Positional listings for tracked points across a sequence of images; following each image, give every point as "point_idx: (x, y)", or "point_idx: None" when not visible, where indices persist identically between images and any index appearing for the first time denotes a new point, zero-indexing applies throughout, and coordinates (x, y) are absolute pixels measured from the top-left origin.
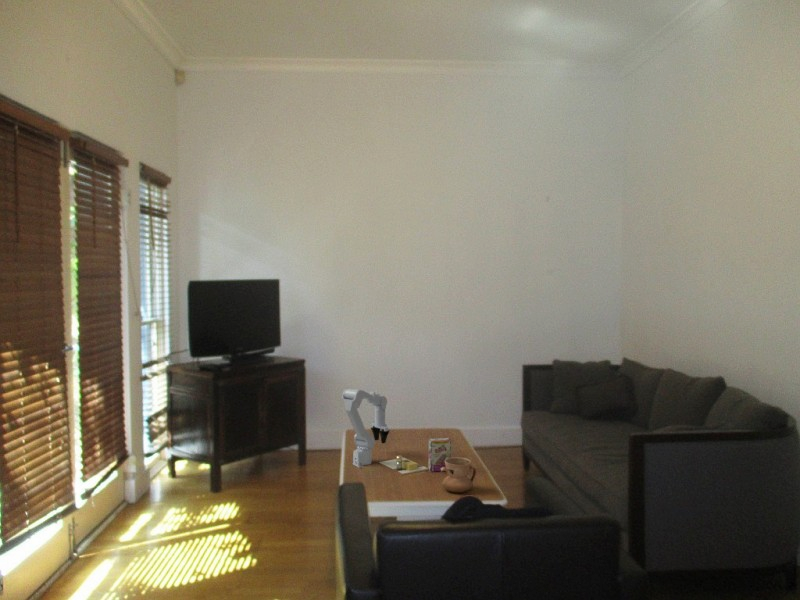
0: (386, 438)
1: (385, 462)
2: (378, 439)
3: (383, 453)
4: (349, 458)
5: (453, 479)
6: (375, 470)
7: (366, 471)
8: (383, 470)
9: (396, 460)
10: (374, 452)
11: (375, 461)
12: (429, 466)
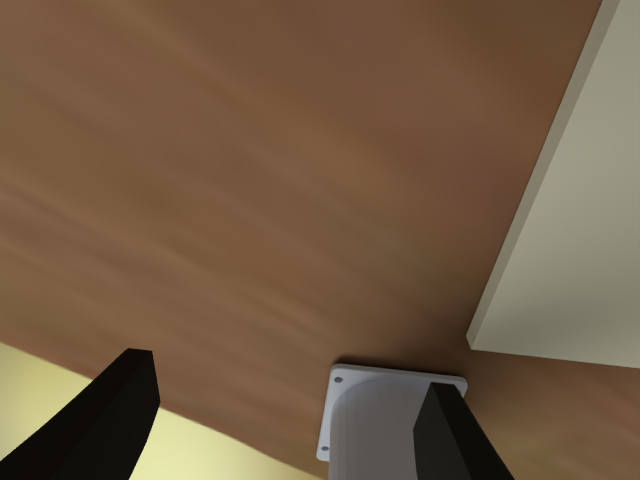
0: (510, 474)
1: (536, 316)
2: (148, 358)
3: (134, 49)
4: None
5: None
6: (569, 430)
7: (525, 469)
8: (631, 400)
9: (603, 187)
10: (36, 122)
11: (373, 312)
12: None
